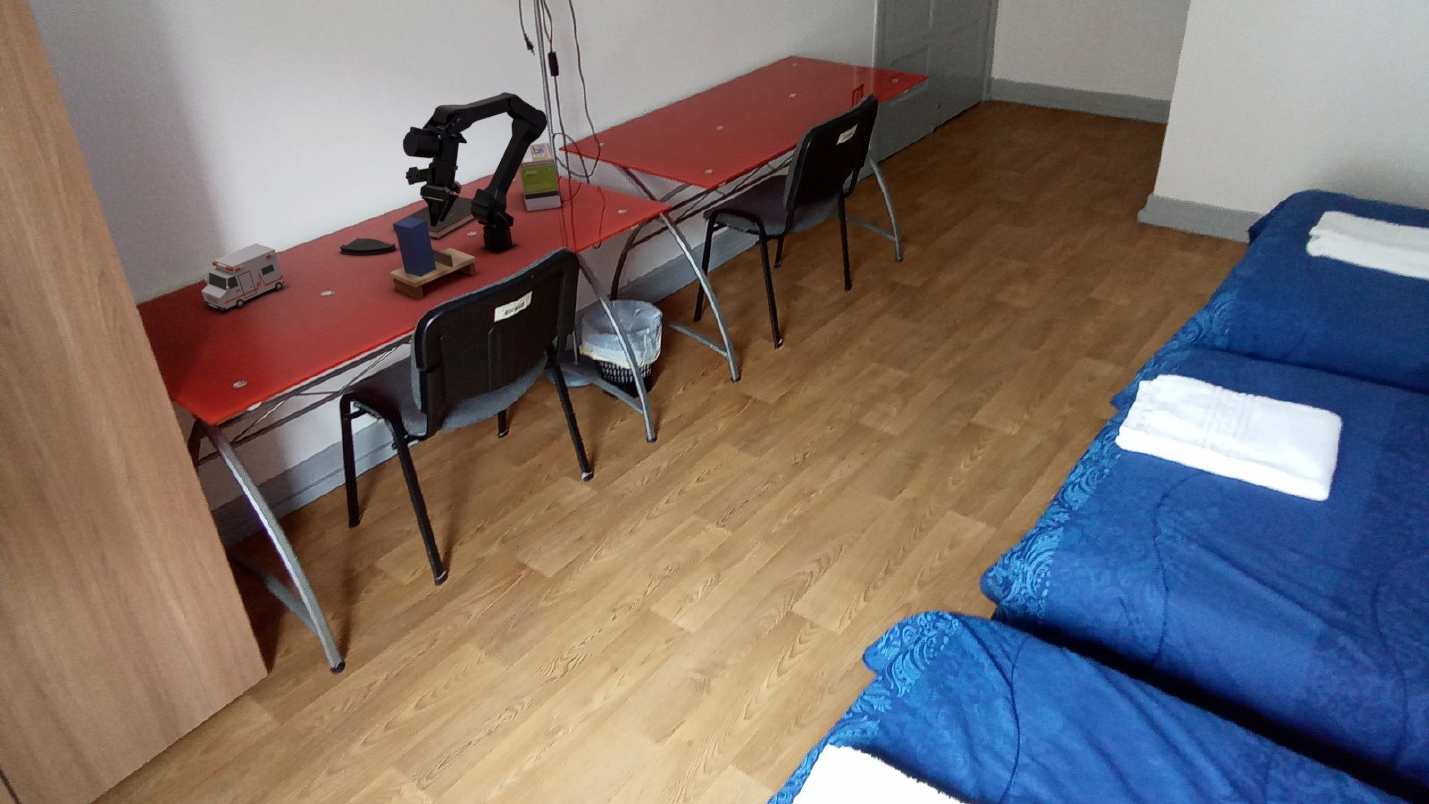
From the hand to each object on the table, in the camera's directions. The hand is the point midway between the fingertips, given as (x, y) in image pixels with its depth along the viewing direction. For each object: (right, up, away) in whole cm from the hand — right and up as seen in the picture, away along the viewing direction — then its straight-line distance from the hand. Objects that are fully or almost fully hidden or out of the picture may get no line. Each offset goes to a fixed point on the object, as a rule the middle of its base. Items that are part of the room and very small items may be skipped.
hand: (437, 223), depth 243 cm
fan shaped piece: (-24, -4, +19) cm, 31 cm away
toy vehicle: (-46, -18, -2) cm, 49 cm away
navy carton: (-3, -12, -4) cm, 13 cm away
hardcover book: (-8, +7, +35) cm, 37 cm away
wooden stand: (-1, -14, +1) cm, 14 cm away
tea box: (+18, +15, +45) cm, 50 cm away
